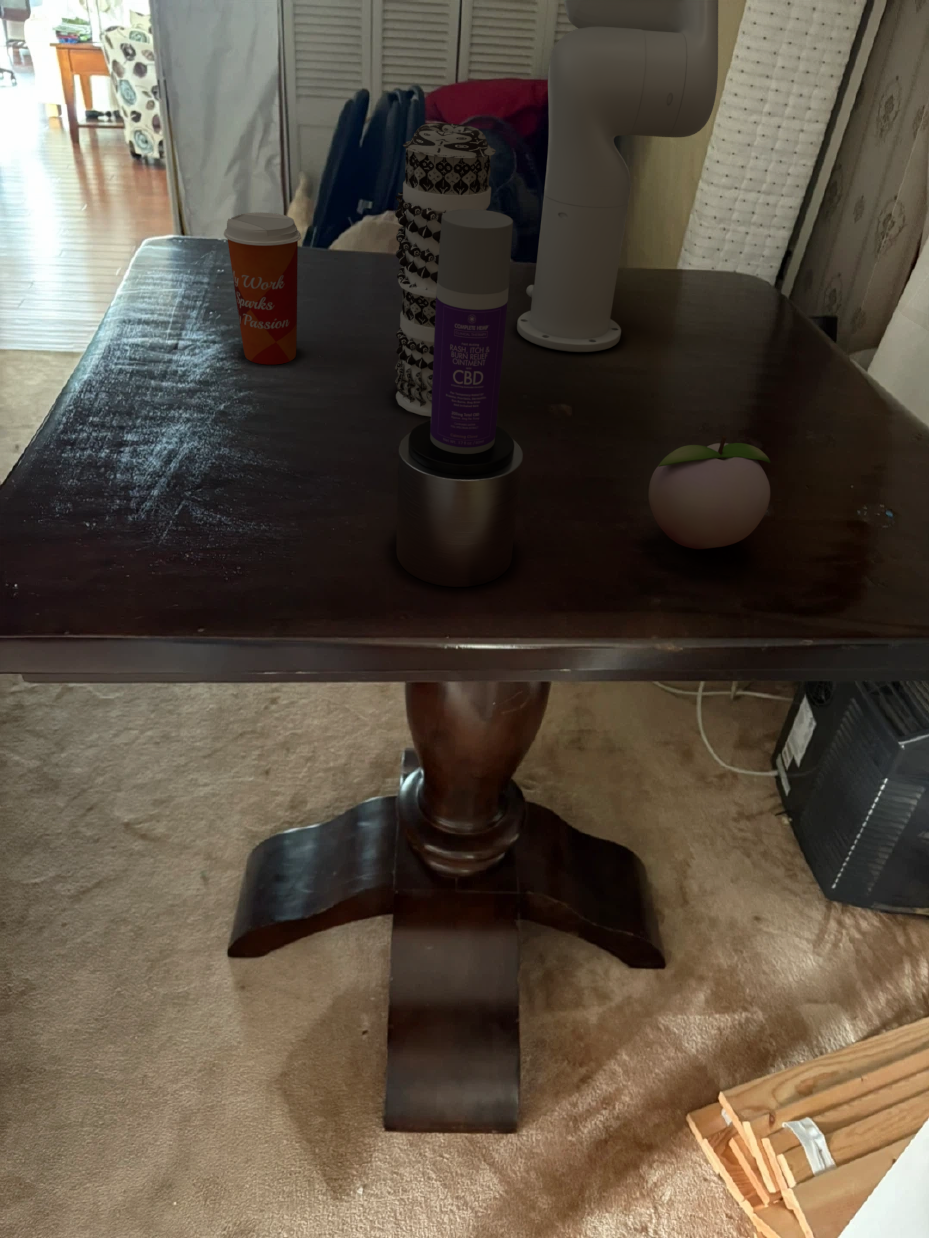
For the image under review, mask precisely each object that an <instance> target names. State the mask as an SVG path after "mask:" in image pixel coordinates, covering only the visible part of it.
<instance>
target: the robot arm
mask: <svg viewBox="0 0 929 1238" xmlns="http://www.w3.org/2000/svg"><path fill="white" fill-rule="evenodd" d="M563 6H564V11H565V14H566V17H567V18H568V21H569V22H570V23H571V24H572V25H573V26H574V27H575V28H576V29H573V30H571V31H569V32H567V33H565V34H564V35H563V36H561V37H560V39H559V40H558V41H557V42H556V44H555V45H554V47H553V49H552V51H551V54H550V58H549V63H548V71H547V99H548V100H547V101H548V103H547V105H548V140H547V141H548V142H547V143H548V144H547V158H546V171H545V178H544V179H545V180H544V188H543V189H544V190H543V200H542V209H541V219H540V220H541V221H540V228H539V238H538V247H537V256H536V265H535V275H534V284H530V285H528V286H527V287H526V290H525V291H526V294H527V296H529V297H530V298H531V305H530V310H527V311H526V312H523V313H522V314H521V315H520V316H519V317H518V318H517V321H516V322H517V324H516V330H517V333H518V334H519V335H520V336H521V337H522V338H523V339H524V340H526V341H528V342H530V343H532V344H534V345H536V346H539V347H542V348H546V349H550V350H554V351H561V352H570V353H593V352H599V351H604V350H607V349H611V348H612V347H615V346H616V345H617V344H618V343H619V342H620V339H621V335H622V328H621V327H620V325H619V324H618V323H617V322H616V321H615V320H613V319H611V316H612V309H613V302H614V297H615V291H616V283H617V278H618V274H619V273H618V272H619V266H620V260H621V255H622V248H623V241H624V235H625V229H626V222H627V216H628V211H629V203H630V197H631V190H632V179H631V175H630V174H631V173H630V170H629V167H628V165H627V164H626V161H625V159H624V158H623V156H622V154H621V153H620V152H619V150H618V148H617V146H616V144H615V142H614V141H615V138H616V137H618V136H642V137H658V138H686V137H691V136H693V135H696V134H698V133H699V132H700V131H701V130H702V129H703V128H704V127H706V124H707V123H708V121H709V120H710V117H711V115H712V112H713V110H714V106H715V103H716V97H717V91H718V80H719V79H718V78H719V0H563Z"/></svg>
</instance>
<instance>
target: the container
mask: <svg viewBox="0 0 929 1238" xmlns="http://www.w3.org/2000/svg"><path fill="white" fill-rule="evenodd" d="M513 227H514V220H513V218H511V216H509V215H507V214H503V213H501V212H498V211H492V210H487V209H486V210H478V209H459V210H452V211H448V212H446V213H444V214H443V215H442V220H441V235H440V249H439V264H438V278H437V292H436V310H435V334H434V357H433V381H432V404H431V416H430V420H431V428H430V439H431V441H432V443H433V444H434V445H435V446H437V447H438V448H440V449H442V450H445V451H448V452H452V453H458V454H475V453H480V452H484V451H486V450H488V449H490V448H491V447H492V446H493V445H494V443H495V435H496V426H497V423H498V414H499V413H498V412H499V402H500V390H501V380H502V369H503V368H502V366H503V359H504V357H503V356H504V347H505V336H506V325H507V316H508V315H507V314H508V305H509V289H510V272H511V258H512V257H511V256H512V244H513V243H512V242H513Z"/></svg>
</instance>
